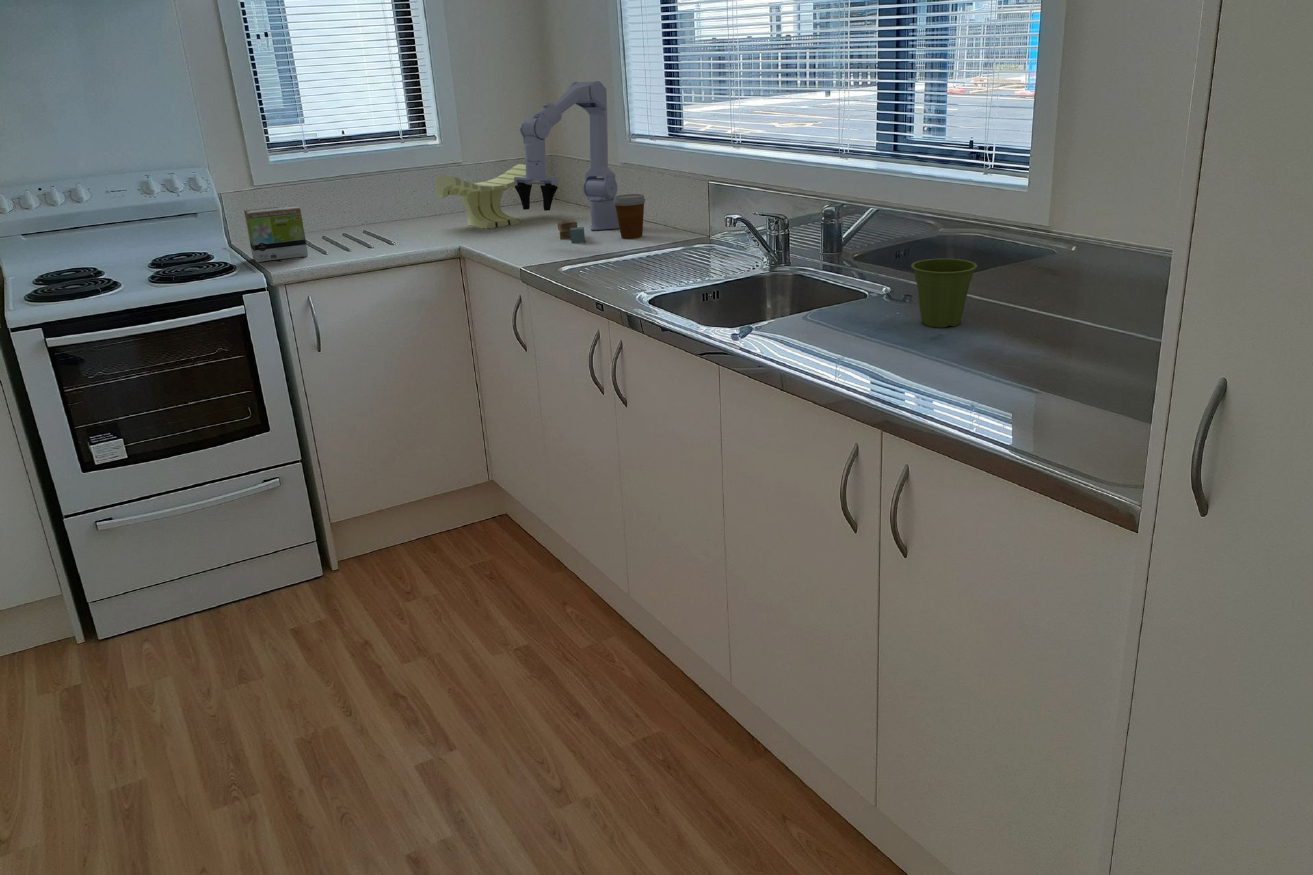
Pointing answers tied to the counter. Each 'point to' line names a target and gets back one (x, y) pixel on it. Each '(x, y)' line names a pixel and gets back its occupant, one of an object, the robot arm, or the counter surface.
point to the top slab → (566, 225)
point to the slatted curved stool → (482, 197)
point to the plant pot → (942, 290)
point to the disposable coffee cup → (630, 215)
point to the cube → (577, 235)
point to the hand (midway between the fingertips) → (536, 210)
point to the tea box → (276, 233)
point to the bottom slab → (565, 235)
